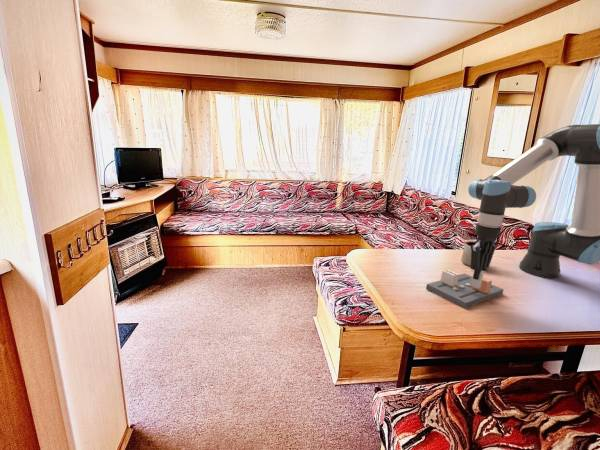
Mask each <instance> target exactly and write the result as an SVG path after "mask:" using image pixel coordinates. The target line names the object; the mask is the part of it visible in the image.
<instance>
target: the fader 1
mask: <svg viewBox="0 0 600 450" xmlns="http://www.w3.org/2000/svg"><path fill="white" fill-rule="evenodd" d="M459 275H460V274H459V273H457V272H454V271H452V270H449V269H444V270H442V271H441V276H440V277H441V278H440V280H441V282H443V283H445V284H447V285H450V286H452V287H453V286H456V285H457V282H458V277H459Z"/></svg>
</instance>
